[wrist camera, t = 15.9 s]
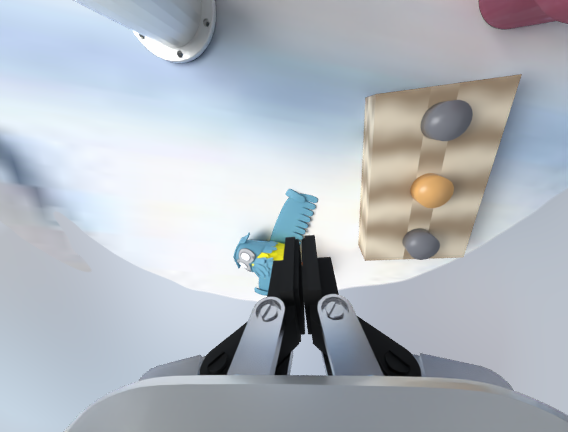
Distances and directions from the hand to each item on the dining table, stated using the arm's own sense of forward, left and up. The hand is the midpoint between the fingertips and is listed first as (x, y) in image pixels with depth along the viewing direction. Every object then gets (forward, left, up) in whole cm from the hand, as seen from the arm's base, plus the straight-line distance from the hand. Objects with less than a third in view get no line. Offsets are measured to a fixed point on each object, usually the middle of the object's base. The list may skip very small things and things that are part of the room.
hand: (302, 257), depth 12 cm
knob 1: (+13, +18, -24) cm, 33 cm away
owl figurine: (+17, -7, -27) cm, 33 cm away
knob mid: (+4, +18, -24) cm, 30 cm away
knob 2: (-5, +18, -24) cm, 30 cm away
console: (+4, +18, -26) cm, 32 cm away
